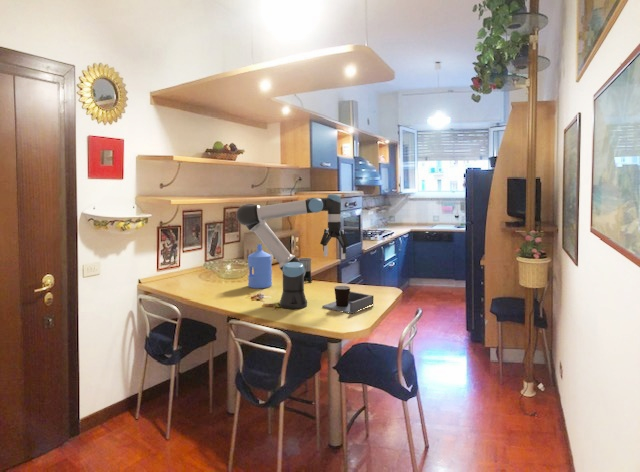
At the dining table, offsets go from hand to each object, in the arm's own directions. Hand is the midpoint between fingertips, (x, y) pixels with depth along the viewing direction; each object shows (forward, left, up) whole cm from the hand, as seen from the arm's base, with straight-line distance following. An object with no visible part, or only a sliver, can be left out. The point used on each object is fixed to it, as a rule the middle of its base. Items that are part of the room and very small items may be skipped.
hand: (334, 257), depth 247 cm
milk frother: (+30, +49, -25) cm, 63 cm away
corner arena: (-8, -16, -25) cm, 31 cm away
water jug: (-4, +60, -25) cm, 65 cm away
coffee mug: (-9, -13, -24) cm, 28 cm away
